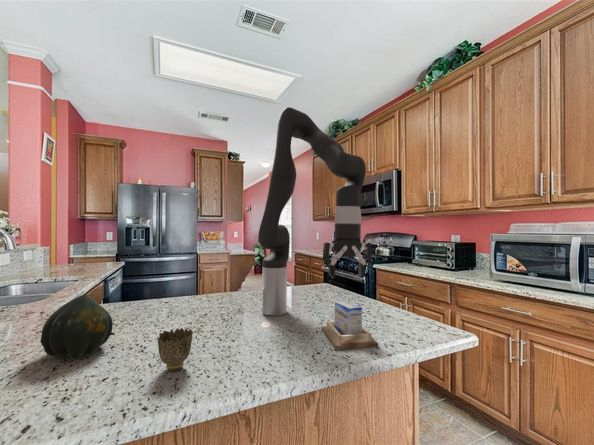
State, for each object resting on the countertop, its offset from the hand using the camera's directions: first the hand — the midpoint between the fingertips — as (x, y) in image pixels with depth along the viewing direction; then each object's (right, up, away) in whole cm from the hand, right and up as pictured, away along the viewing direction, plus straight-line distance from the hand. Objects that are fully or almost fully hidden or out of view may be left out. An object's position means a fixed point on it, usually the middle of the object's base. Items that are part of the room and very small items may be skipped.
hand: (346, 277), depth 83 cm
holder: (0, -18, 0) cm, 18 cm away
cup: (-42, -17, -18) cm, 49 cm away
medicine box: (0, -17, 0) cm, 17 cm away
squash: (-71, -18, -10) cm, 74 cm away
